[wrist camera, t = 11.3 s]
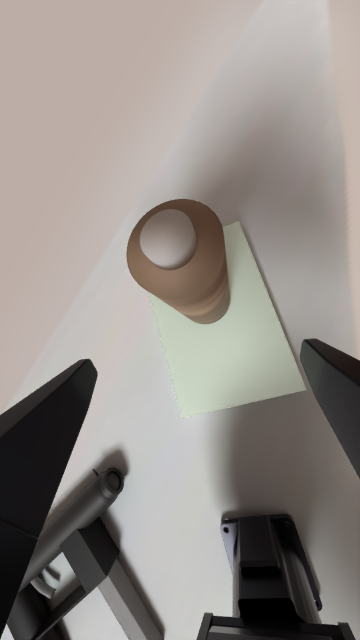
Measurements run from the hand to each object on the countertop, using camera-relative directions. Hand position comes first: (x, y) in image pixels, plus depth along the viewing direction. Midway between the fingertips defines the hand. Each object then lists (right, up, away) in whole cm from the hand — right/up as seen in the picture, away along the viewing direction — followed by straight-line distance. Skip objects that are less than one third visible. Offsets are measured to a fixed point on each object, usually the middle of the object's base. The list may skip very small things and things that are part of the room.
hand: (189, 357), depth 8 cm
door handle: (-10, -26, +14) cm, 31 cm away
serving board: (+3, +2, +13) cm, 14 cm away
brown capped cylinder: (+2, +4, +13) cm, 13 cm away
